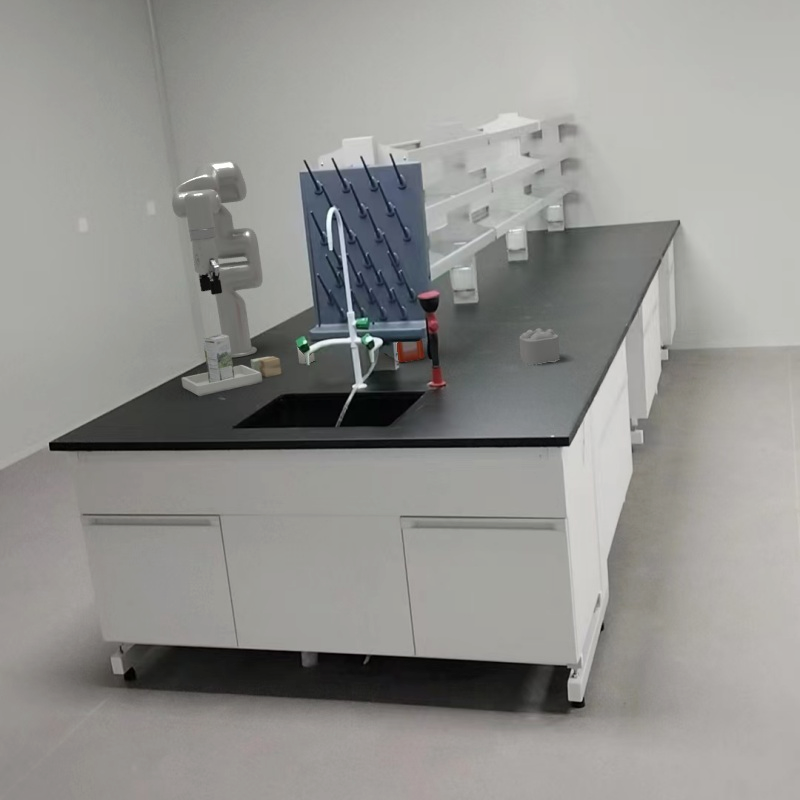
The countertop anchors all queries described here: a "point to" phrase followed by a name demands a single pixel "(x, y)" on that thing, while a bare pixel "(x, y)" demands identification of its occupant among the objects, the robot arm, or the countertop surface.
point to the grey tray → (203, 387)
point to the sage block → (256, 364)
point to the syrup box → (218, 358)
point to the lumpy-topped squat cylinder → (539, 346)
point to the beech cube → (269, 366)
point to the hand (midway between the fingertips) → (211, 292)
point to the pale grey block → (302, 357)
